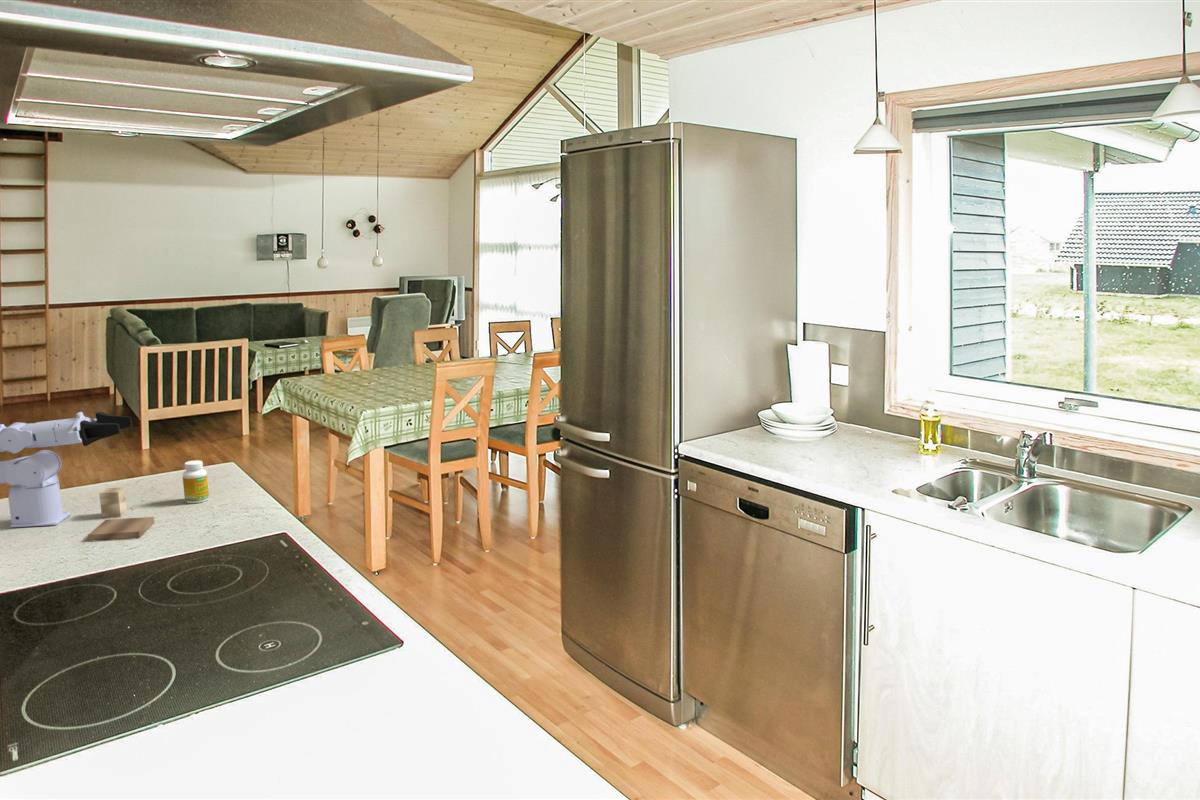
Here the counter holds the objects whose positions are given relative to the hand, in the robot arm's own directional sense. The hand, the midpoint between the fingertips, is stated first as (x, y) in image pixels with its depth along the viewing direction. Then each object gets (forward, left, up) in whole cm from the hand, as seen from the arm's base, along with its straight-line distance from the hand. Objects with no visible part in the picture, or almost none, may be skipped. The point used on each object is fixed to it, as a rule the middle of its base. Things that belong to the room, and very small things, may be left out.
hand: (125, 424), depth 195 cm
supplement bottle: (+11, +10, -22) cm, 26 cm away
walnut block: (+1, -11, -22) cm, 25 cm away
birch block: (-5, +2, -22) cm, 22 cm away
